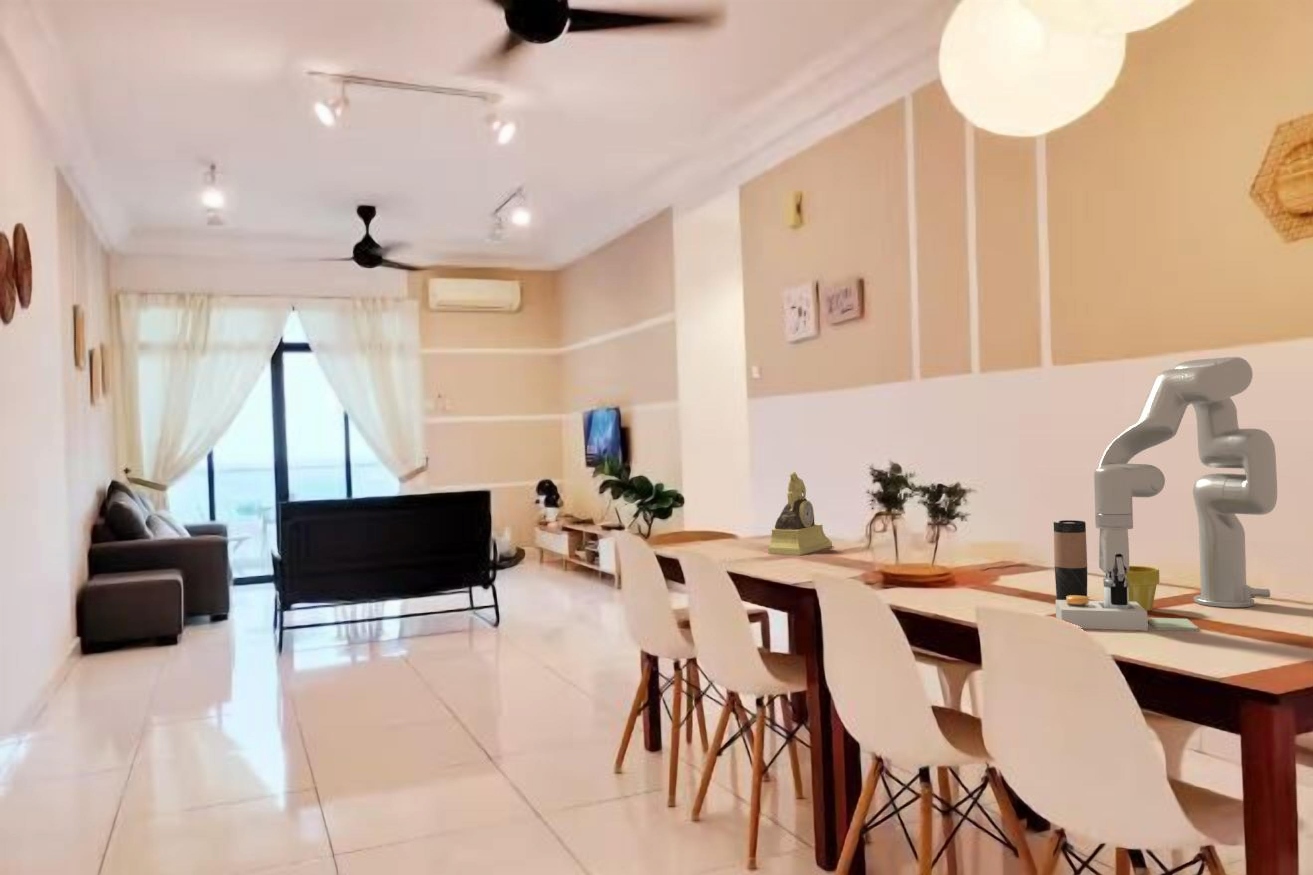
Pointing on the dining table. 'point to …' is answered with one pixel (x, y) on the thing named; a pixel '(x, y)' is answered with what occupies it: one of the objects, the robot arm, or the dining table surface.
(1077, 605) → the plunger
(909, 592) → the dining table surface
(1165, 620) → the mat
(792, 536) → the decorative clock
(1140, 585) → the plant pot
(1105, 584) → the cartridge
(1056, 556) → the travel mug
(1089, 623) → the housing
